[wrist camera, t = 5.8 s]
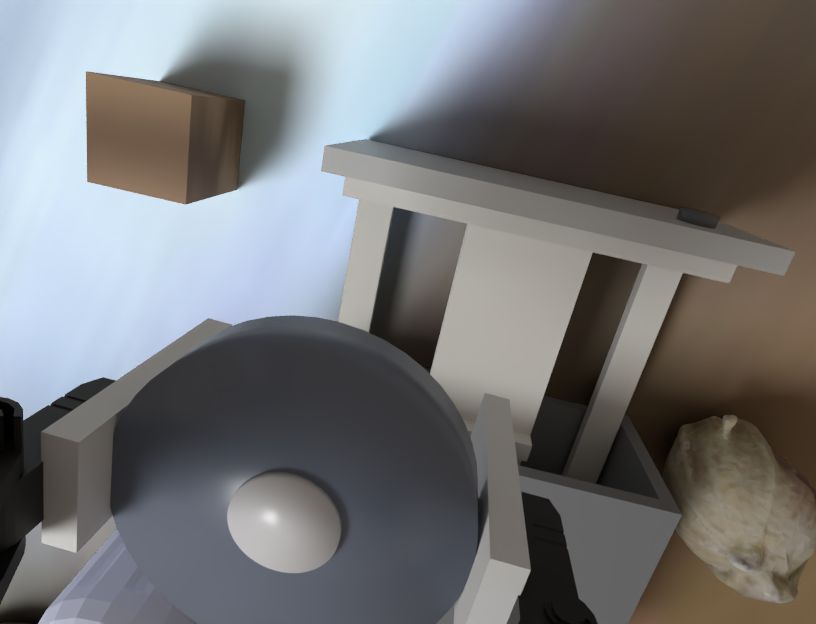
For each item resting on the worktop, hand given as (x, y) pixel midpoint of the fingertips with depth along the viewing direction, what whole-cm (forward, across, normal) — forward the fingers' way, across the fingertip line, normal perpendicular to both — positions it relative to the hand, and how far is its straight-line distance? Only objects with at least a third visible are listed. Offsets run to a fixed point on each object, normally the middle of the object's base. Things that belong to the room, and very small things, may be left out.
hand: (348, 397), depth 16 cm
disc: (-4, 0, 0) cm, 4 cm away
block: (+16, -14, +5) cm, 22 cm away
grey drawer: (+16, +5, -2) cm, 17 cm away
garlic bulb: (+17, +21, -7) cm, 28 cm away
